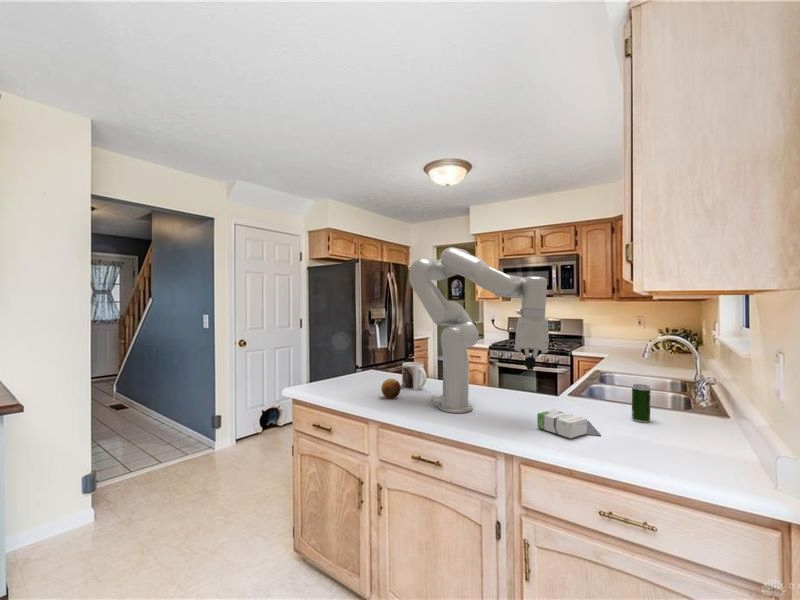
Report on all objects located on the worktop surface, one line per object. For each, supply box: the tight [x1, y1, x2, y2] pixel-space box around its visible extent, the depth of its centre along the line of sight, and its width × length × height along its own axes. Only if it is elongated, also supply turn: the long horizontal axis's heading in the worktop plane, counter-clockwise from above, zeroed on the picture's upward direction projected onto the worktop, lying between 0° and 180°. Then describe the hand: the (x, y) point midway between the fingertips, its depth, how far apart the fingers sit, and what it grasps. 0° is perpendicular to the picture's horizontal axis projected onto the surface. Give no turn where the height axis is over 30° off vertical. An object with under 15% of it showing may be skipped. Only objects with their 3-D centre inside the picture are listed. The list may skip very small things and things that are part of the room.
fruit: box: [380, 378, 402, 400], centre depth 159 cm, size 8×8×8 cm
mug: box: [401, 361, 427, 391], centre depth 177 cm, size 10×12×11 cm
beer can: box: [631, 383, 652, 424], centre depth 132 cm, size 5×5×12 cm
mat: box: [583, 420, 602, 437], centre depth 125 cm, size 13×14×1 cm
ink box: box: [536, 409, 588, 439], centre depth 120 cm, size 9×5×12 cm
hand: (529, 369), depth 128 cm, fingers closed
